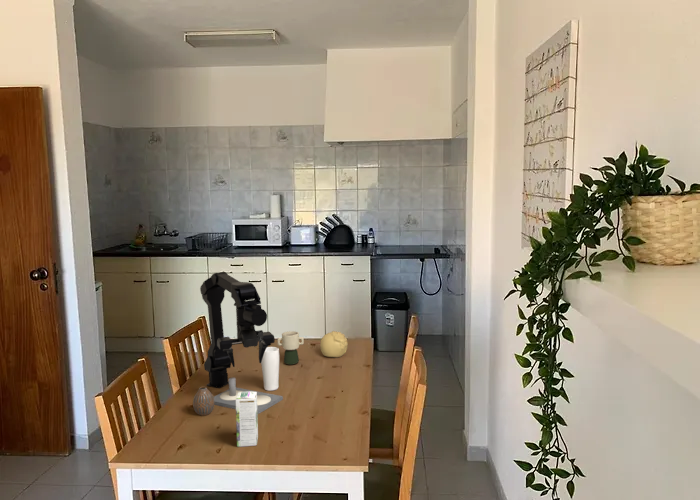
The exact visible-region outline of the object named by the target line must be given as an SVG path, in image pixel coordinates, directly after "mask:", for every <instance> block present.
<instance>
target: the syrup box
mask: <svg viewBox="0 0 700 500" xmlns="http://www.w3.org/2000/svg"><path fill="white" fill-rule="evenodd" d="M258 415H259V414H258V413H257V392H250V391H248V392H238V395H237V398H236V409H235V423H236V424H235V426H236V428H235V429H236V447H238V448H241V447H253V446H256V447H257V445H258V440H259V439H258V438H259V425H258V424H259V422H258V421H259V419H258Z"/></svg>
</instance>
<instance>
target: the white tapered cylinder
mask: <svg viewBox="0 0 700 500" xmlns="http://www.w3.org/2000/svg"><path fill="white" fill-rule="evenodd" d="M260 364H261V372H262V379H263V388H264V390H266V391H268V392H269V391H273V392H274V391H277V390H278V389H279V381H280V380H279V375H280V349H279V347H276V346H268V347H267V348H266V350H265V352H264V355H263V358H262V362H261V363H260Z"/></svg>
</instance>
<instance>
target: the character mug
mask: <svg viewBox="0 0 700 500" xmlns="http://www.w3.org/2000/svg"><path fill="white" fill-rule="evenodd" d="M304 339H305V338H304V336H300V332H298V331H296V330H295V331H294V330H289V331H284V332H282V333H281V337H278V338H277V346H278V347H279V346H282V348H283V350H284V356H283V362H284V364H286V365H294V364H298V363H299V362H300V357H299V354H298V349H299V347H300V346H302V345H304V343H305V340H304ZM300 340H301V342H300Z"/></svg>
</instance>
